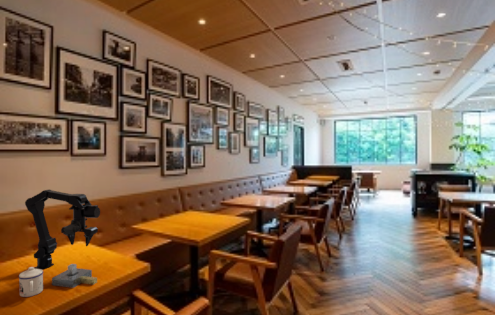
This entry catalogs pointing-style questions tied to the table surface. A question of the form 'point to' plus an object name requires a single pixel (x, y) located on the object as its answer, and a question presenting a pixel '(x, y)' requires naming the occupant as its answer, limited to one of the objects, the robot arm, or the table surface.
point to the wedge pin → (72, 270)
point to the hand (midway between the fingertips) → (79, 245)
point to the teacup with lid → (31, 282)
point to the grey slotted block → (74, 278)
